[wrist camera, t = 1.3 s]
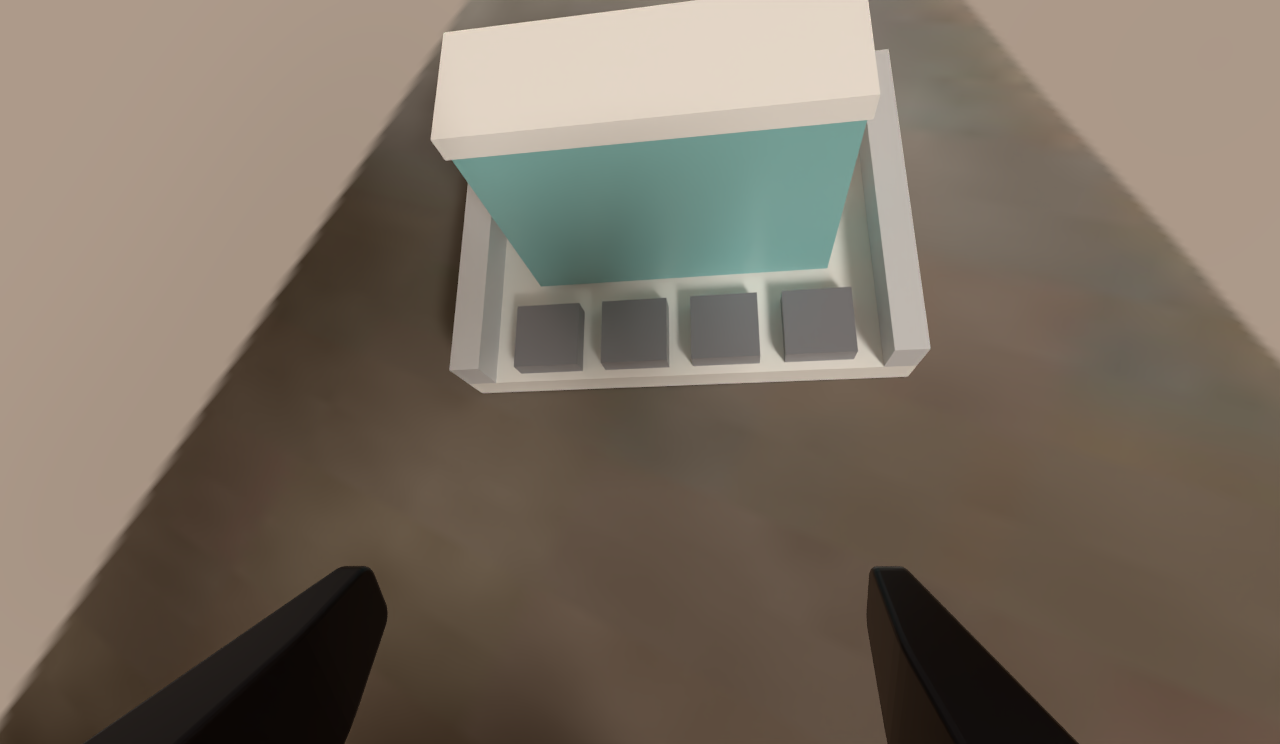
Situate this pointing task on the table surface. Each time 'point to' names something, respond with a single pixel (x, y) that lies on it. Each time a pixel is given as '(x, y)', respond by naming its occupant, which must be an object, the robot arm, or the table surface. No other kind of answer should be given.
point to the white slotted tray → (707, 303)
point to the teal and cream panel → (663, 135)
